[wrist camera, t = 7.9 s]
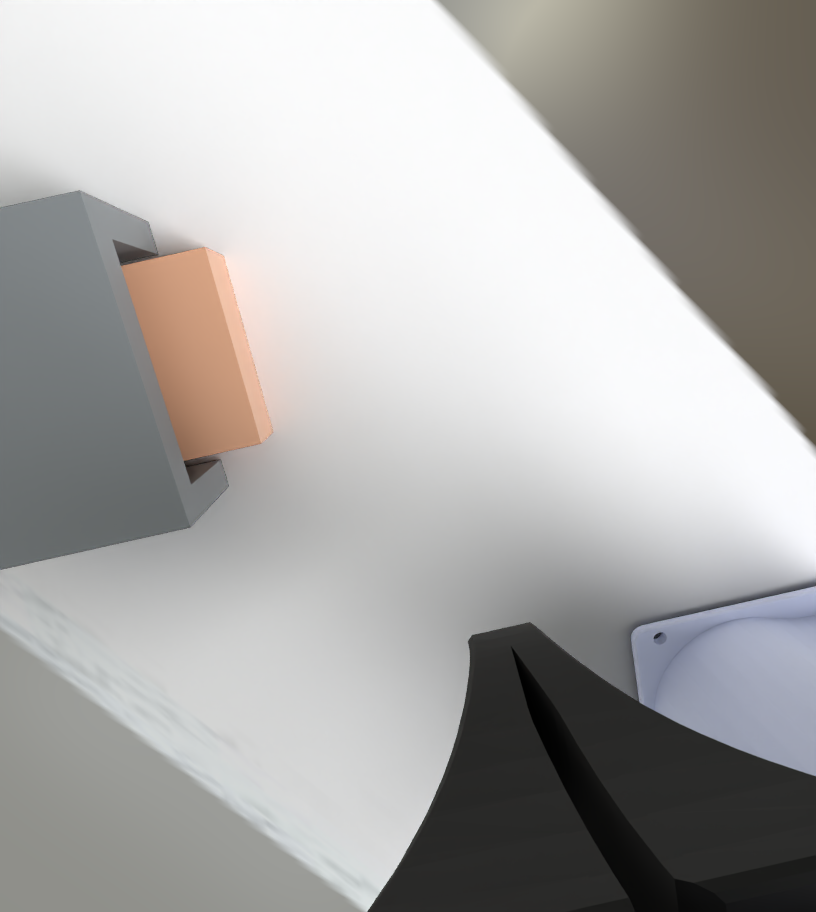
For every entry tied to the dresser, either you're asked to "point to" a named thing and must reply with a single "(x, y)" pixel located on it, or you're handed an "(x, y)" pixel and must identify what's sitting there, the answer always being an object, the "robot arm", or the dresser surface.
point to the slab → (199, 351)
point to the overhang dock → (82, 390)
